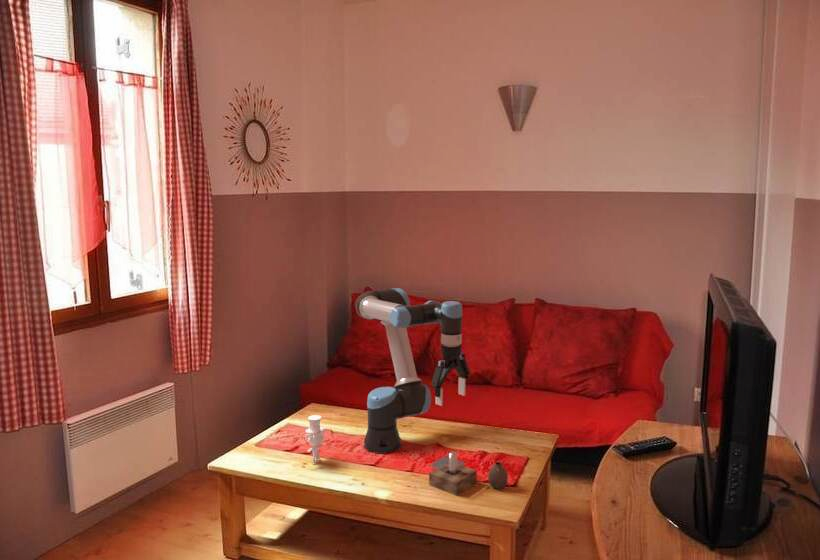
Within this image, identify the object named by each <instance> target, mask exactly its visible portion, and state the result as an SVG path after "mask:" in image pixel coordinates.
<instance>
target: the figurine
mask: <svg viewBox="0 0 820 560" xmlns="http://www.w3.org/2000/svg"><path fill="white" fill-rule="evenodd" d="M307 419H308V421H309V428H306V429H305V433H306V434H305V435H304V434H303V435H304V437H305V438H304V440H307V444H309V445H311V446H312V447H310V448H308V449H307V451H306V452H307V453H311V452H312V462H311V463H312V464H315V463H317V462H319V459H321V456H320V449H319V446H321V445H323V444H324V437H323V436H324V435H323V434H325V433H326V431H325V430H326V428H324V427H323V425H321V424H320V423H321V420H322V416H321V415H319V414H312V415H309V416H308V417H307Z"/></svg>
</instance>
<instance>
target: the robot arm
mask: <svg viewBox="0 0 820 560" xmlns="http://www.w3.org/2000/svg"><path fill="white" fill-rule="evenodd" d="M354 306H355V312H356V313H357V315H358V316H359V317H361V318H362V319H364V320H365V319H367V320H373V319H376V320H380V324H381V325H384V327H385V332H386V337H387V341H388V346H389V350H390V351H389V352H390V355H391V359H392V364H393V368H394V374H395V378H396V382H395V384H394V386H381V387H376V388H374V389H373V390H371V391H370V392H369V393H368V395H367V402H366V407H367V430H366V433H365V437H364V439H363V440H364V441H363V447H364V449H365V450H366V449H367V450H366V451H368V450H369V451H368V452H370V451H371V452H370V453H373V452H378V453H377V454H388V453H387V452H390V453H394V452H396V451H398V450H400V449H401V448H402V439H401V436H400V433H399V430H398V425H397V424H398V421H397V420H399V419H405V418H409V417H414V416H419V415H422V414H424V413H426V412H428V410H429V409H430V407H431V403H432V395H431V391H430V388H429V387H428V386H427V385H426V384H423V382H422V379H421V378H419V377H418V374H417V370H416V365H415V362H414V358H413V353H412V348H411V344H410V339H409V335H408V334H409V333H408V330H407V329H408V327H416V326H422V325H423V326H424V325H430V324H438V325H440V326H441V327H440V330H441V331H440V343H441V344H440V354H441V356H442V360H440V359H437V361H436V367H435V370H434V373H433V377H432V380H431V383H430V387H431V388H434V397H435V399H434V400H435V405H438V406H441V407H443V401H444V400H443V398H444V397H443V392H444V391H443V387H442V386H443V384H444V382H445V381H446V379H447V376H448V374H449V373H450V372H451V370H453V369H454V370H455V371H456V373H458V375H459V377H458V381H457V382H458V383H457V385H458V391H457V393H458V395H461V396H466V384H467V379H469V376H470V374H471V372H470V370H469V369H470V368H469V366H468V363H467V361H466V354H465V353H464V352H463V353H462V351H463V350H462V349H463V348H462V347H463V346H462V340H463V338H462V335H463V334H462V333H463V305H462V303H461V302H459V301H454V300H449V301H443V302H442V303H441V302H440V301H436V300H428V301H427V302H425V303H421V304H415V305H411V301H410V298H409V296H408V294H407V293H406V291H405V290H403V289H402V288H398V287H397V288H394V287H393V288H392V287H391V288H384V289H377V290H368V291H365V292H363V293H361V294H360V295H359V296H358V297H357V298H356V300H355V304H354ZM393 451H394V452H393ZM385 452H386V453H385Z"/></svg>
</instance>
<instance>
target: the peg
mask: <svg viewBox="0 0 820 560" xmlns="http://www.w3.org/2000/svg"><path fill="white" fill-rule="evenodd" d="M448 457H449V474H450V475H453V476H455V475H457V460H458V452H457V451H452V450H451V451H449V452H448Z"/></svg>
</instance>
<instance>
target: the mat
mask: <svg viewBox="0 0 820 560" xmlns="http://www.w3.org/2000/svg"><path fill="white" fill-rule="evenodd" d="M447 462H449V456H445V455H444V456H443V457H440V458H439V459H437V460H436V461H434V462H432V463H430V464H429V466H431V467H433V468H435V469H437V468H439V467H440V466H442V465H444V464H446V463H447ZM457 464H459V465H462V466H465V464H467V462H464V461H460V460H458V459H457Z"/></svg>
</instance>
